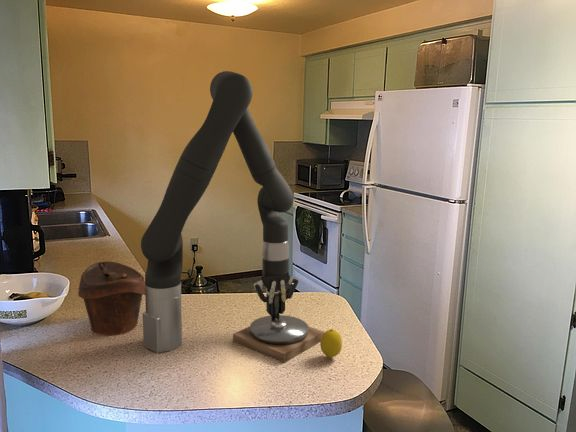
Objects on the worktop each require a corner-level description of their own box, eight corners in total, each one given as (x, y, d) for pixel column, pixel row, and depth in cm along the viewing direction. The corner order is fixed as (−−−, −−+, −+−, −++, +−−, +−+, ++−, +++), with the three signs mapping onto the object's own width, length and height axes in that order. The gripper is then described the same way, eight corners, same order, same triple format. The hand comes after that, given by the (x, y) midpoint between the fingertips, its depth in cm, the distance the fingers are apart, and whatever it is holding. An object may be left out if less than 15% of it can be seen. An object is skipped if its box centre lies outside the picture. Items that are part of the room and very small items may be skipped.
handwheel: (314, 342, 128) (315, 311, 126) (253, 346, 125) (254, 314, 123) (301, 319, 143) (302, 291, 142) (247, 321, 140) (247, 293, 139)
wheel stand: (284, 363, 122) (284, 353, 122) (232, 342, 133) (232, 333, 133) (323, 339, 136) (324, 331, 136) (274, 322, 147) (274, 314, 147)
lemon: (327, 351, 129) (329, 322, 128) (345, 357, 126) (346, 328, 124) (315, 358, 125) (316, 329, 124) (333, 365, 122) (334, 335, 120)
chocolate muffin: (131, 343, 130) (129, 279, 127) (65, 335, 134) (61, 273, 131) (161, 319, 148) (159, 262, 145) (101, 313, 152) (99, 257, 149)
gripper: (256, 262, 130) (257, 322, 134) (303, 256, 136) (303, 314, 139) (247, 255, 137) (248, 312, 141) (293, 250, 142) (293, 305, 146)
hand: (275, 313), depth 140 cm, fingers closed on handwheel, 2 cm apart
